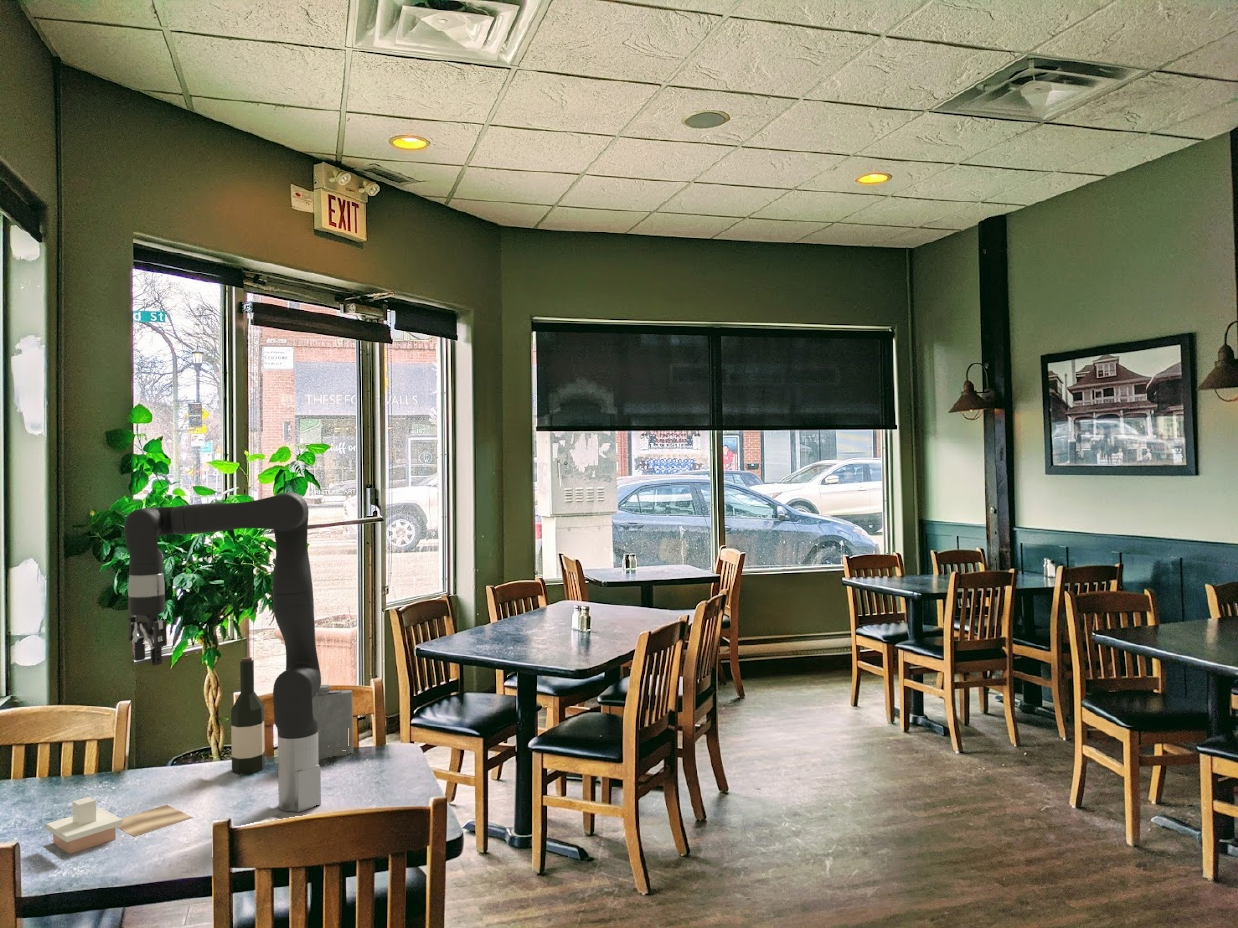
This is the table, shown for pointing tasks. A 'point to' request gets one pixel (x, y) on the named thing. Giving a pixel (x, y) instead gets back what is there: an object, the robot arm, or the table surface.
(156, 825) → the mat
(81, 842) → the dish
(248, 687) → the wine bottle
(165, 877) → the table surface
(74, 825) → the lid
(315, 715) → the hip flask
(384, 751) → the table surface
